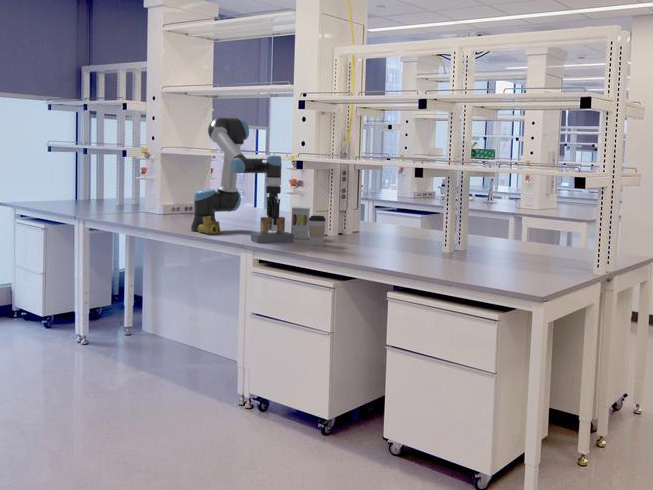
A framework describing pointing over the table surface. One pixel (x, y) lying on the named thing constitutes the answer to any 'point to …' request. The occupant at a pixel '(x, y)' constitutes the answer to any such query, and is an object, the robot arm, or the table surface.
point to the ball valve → (209, 226)
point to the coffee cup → (316, 230)
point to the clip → (267, 220)
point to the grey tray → (272, 237)
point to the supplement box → (300, 222)
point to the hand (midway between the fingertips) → (272, 230)
